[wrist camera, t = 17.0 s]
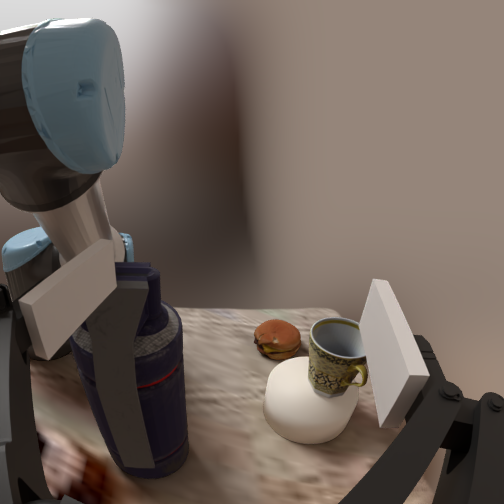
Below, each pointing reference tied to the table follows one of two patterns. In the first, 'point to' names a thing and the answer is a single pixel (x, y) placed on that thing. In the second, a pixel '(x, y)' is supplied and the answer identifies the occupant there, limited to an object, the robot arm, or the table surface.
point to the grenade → (136, 373)
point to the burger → (277, 339)
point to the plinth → (304, 405)
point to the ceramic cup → (335, 356)
